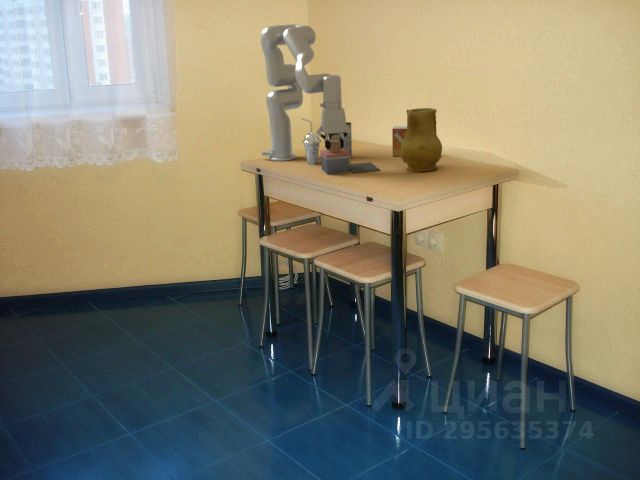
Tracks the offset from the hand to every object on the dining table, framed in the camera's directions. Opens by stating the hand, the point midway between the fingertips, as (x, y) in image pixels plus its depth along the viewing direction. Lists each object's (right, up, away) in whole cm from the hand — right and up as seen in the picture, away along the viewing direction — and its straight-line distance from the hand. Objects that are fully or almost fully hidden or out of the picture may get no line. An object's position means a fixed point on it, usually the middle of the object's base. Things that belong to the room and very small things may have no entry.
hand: (334, 148), depth 309 cm
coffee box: (+4, -1, +30) cm, 30 cm away
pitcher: (+37, -9, -2) cm, 38 cm away
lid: (0, -2, +1) cm, 3 cm away
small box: (+32, 0, +27) cm, 42 cm away
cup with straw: (-10, -4, +20) cm, 22 cm away
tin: (0, -9, +3) cm, 10 cm away
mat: (+12, -8, +5) cm, 15 cm away
